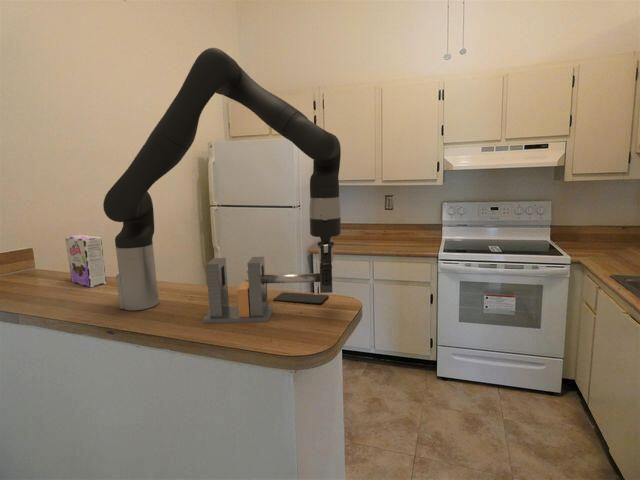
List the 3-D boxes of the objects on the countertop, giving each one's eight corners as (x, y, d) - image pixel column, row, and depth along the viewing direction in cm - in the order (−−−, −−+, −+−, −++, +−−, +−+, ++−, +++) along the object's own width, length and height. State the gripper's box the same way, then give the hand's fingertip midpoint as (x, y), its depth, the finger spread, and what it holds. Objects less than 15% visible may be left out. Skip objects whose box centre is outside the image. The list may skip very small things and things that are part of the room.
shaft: (260, 294, 95) (258, 267, 94) (262, 290, 98) (260, 264, 97) (332, 292, 95) (331, 265, 94) (332, 288, 98) (331, 262, 97)
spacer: (239, 317, 94) (237, 289, 93) (244, 307, 101) (243, 281, 100) (249, 316, 94) (247, 289, 93) (254, 306, 101) (252, 281, 100)
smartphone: (282, 292, 115) (329, 294, 111) (282, 295, 116) (330, 298, 111) (271, 299, 109) (321, 303, 104) (271, 303, 109) (321, 306, 104)
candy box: (70, 282, 135) (64, 236, 132) (88, 278, 139) (82, 233, 137) (89, 288, 127) (83, 239, 124) (107, 283, 132) (101, 236, 129)
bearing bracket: (203, 323, 94) (198, 265, 91) (213, 310, 103) (209, 257, 100) (268, 321, 93) (265, 263, 91) (273, 308, 102) (270, 255, 100)
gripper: (310, 213, 100) (312, 273, 103) (308, 220, 86) (310, 289, 89) (339, 212, 100) (340, 272, 103) (341, 219, 86) (342, 288, 89)
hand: (326, 280), depth 96 cm, fingers open, 8 cm apart
